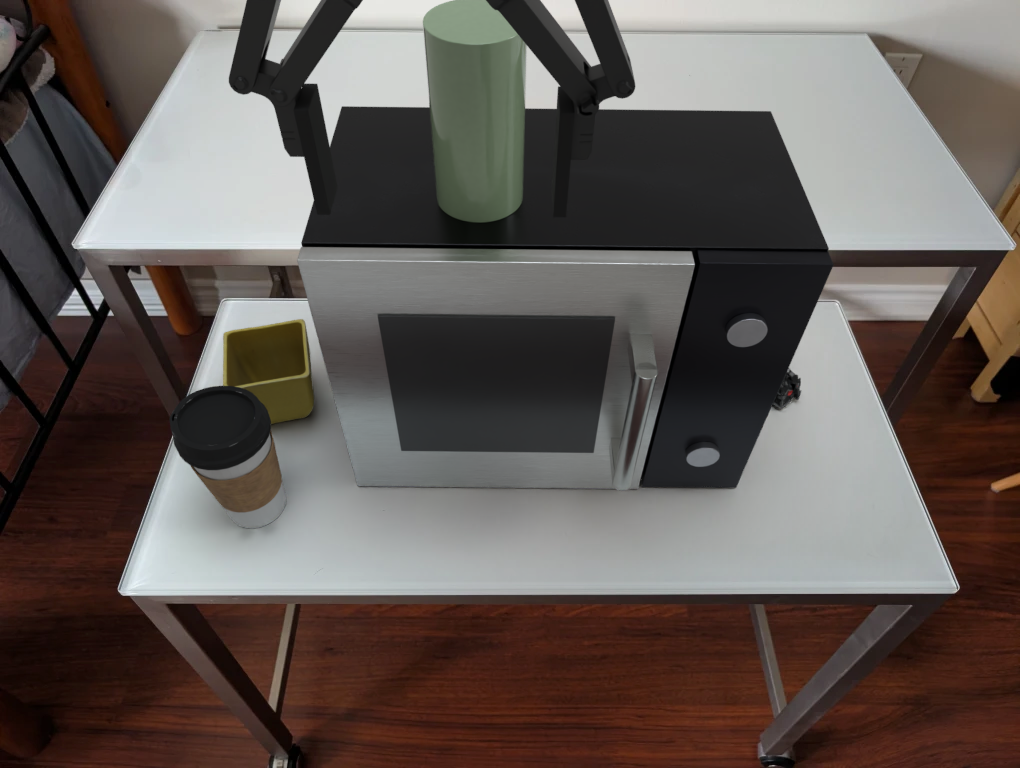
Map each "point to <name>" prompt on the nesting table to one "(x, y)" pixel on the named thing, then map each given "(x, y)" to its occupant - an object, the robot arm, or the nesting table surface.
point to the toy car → (788, 390)
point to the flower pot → (272, 367)
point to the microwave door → (496, 361)
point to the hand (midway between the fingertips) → (443, 202)
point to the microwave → (630, 247)
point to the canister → (476, 109)
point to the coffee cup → (231, 452)
